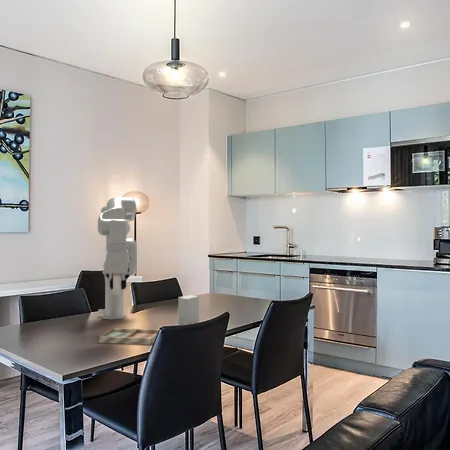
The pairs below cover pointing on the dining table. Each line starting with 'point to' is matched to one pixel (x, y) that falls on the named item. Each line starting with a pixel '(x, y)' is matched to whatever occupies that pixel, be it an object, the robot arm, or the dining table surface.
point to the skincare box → (188, 309)
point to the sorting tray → (128, 336)
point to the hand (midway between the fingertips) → (118, 288)
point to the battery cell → (117, 284)
